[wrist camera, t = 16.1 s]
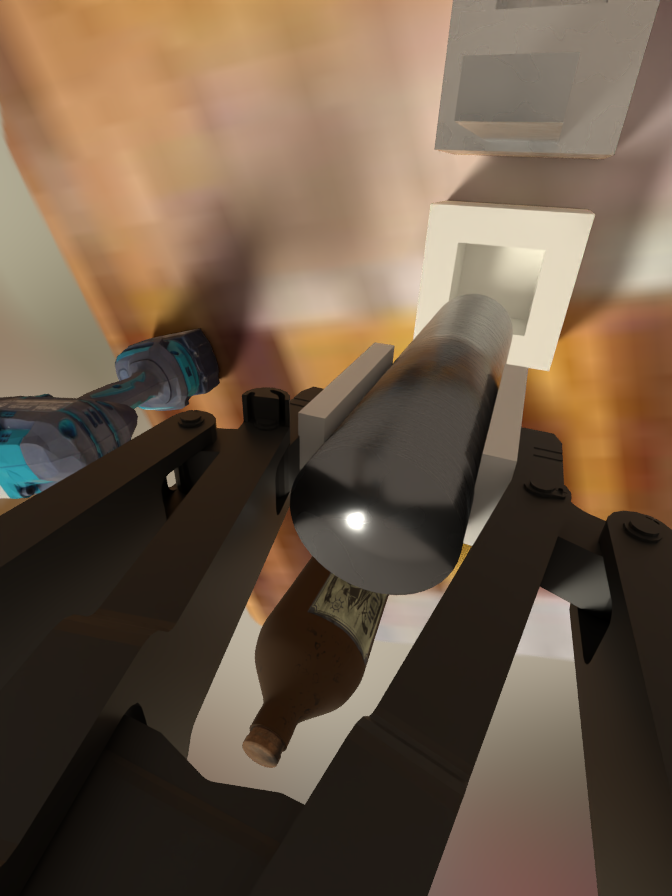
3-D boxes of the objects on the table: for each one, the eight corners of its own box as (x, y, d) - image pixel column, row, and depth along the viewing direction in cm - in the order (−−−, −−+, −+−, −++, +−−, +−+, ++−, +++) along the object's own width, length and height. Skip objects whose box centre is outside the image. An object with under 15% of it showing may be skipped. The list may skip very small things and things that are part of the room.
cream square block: (446, 200, 36) (430, 203, 31) (588, 209, 33) (595, 214, 28) (428, 328, 41) (411, 348, 36) (549, 346, 38) (549, 370, 33)
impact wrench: (98, 343, 57) (-150, 432, 37) (247, 310, 47) (19, 408, 27) (125, 402, 60) (-89, 514, 40) (270, 383, 50) (82, 520, 30)
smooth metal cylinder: (436, 289, 23) (288, 428, 10) (521, 299, 22) (479, 473, 9) (425, 366, 25) (290, 564, 12) (502, 379, 24) (445, 616, 11)
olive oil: (365, 595, 60) (272, 804, 40) (307, 539, 59) (182, 724, 39) (423, 563, 54) (348, 792, 34) (359, 500, 53) (242, 696, 33)
